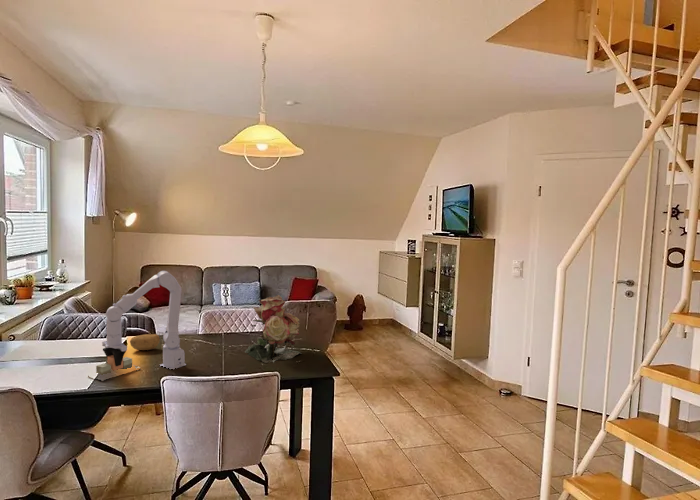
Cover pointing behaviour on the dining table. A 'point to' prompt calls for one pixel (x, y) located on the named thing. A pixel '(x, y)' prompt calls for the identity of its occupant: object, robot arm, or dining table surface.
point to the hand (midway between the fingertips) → (114, 364)
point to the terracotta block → (113, 363)
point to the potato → (145, 342)
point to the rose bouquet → (274, 331)
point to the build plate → (106, 367)
